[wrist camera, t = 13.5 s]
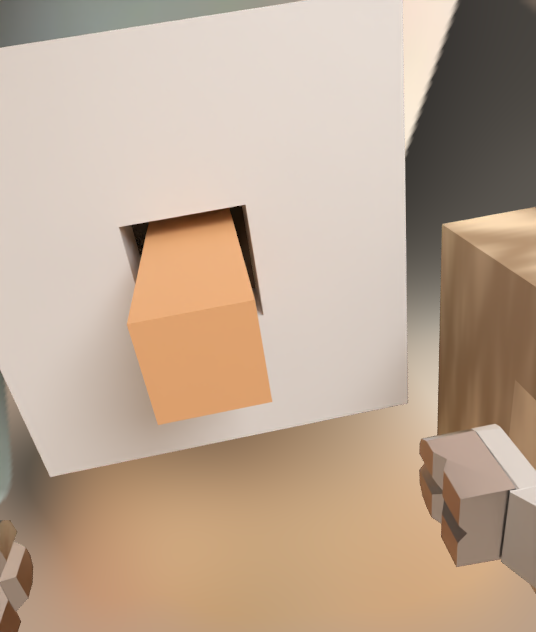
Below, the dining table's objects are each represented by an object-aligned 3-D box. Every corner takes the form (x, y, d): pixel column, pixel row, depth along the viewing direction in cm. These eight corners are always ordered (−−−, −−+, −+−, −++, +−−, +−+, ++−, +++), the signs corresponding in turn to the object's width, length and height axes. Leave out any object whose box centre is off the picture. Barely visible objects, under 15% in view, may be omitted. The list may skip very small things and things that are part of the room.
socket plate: (374, -6, 20) (402, -15, 17) (387, 371, 29) (408, 403, 26) (-95, 67, 19) (-141, 69, 16) (63, 436, 27) (50, 477, 25)
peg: (228, 205, 23) (255, 299, 14) (241, 278, 25) (272, 402, 16) (149, 219, 23) (126, 324, 14) (167, 291, 25) (157, 424, 16)
